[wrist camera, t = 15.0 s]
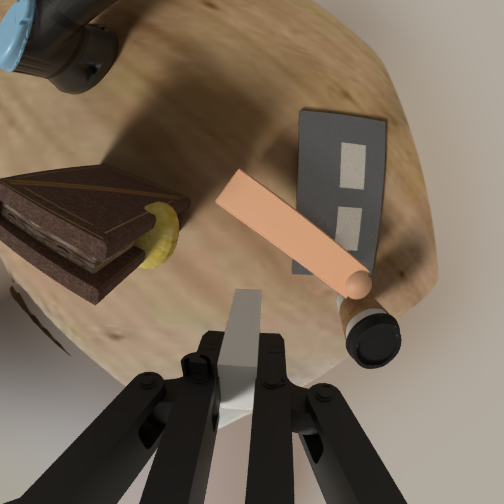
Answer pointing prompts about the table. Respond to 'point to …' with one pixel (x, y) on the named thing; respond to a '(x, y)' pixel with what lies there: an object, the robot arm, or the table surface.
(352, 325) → the coffee cup
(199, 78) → the table surface
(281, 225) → the cable arm
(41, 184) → the book
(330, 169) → the plate
